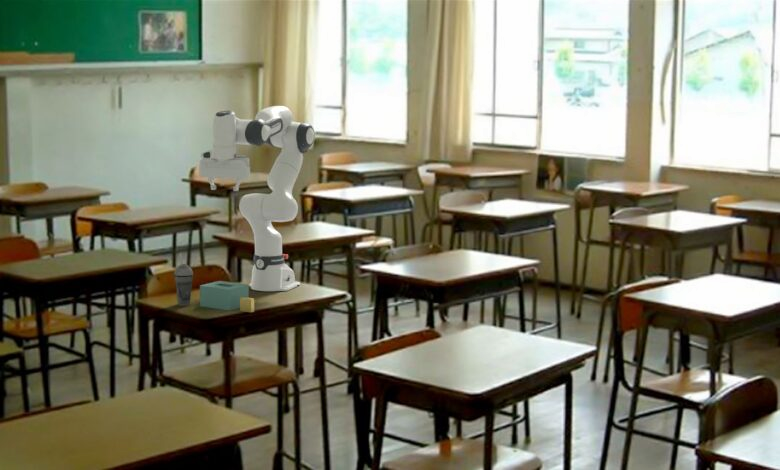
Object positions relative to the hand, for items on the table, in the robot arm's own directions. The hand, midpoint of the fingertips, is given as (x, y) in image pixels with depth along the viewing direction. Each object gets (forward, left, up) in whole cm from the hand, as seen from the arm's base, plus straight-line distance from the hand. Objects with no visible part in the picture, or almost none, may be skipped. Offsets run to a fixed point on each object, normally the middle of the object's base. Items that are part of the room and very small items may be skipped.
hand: (224, 190), depth 460 cm
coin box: (+5, +3, -44) cm, 44 cm away
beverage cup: (+12, -11, -44) cm, 47 cm away
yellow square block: (+8, +16, -44) cm, 47 cm away
